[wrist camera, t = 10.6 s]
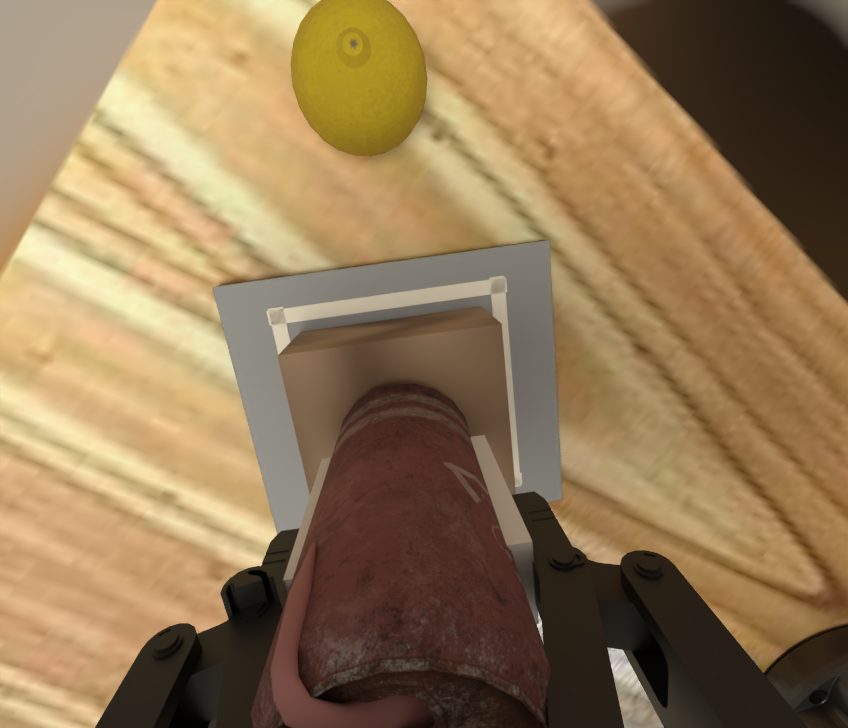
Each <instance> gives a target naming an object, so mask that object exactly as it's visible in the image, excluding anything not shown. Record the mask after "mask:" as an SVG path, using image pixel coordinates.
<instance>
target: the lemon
mask: <svg viewBox="0 0 848 728" xmlns="http://www.w3.org/2000/svg"><path fill="white" fill-rule="evenodd" d="M291 72H292V82H293V89H294V92H295V95H296V98H297V101H298V104H299V107H300V109H301V111H302V113H303V114H304V116H305V118H306V119H307V121H308V123H309V124H310V126H311V127H312V128H313V129H314V130H315V131H316V132H317V133H318V135H319V136H320V137H321V138H322V139H323V140H324V141H326V142H327V143H329V144H330V145H332V146H333V147H335V148H337V149H338V150H340V151H343V152H346V153H350V154H353V155H362V156H372V155H376V154H381V153H385V152H387V151H388V150H390V149H392V148H394V147H396V146H398V145H399V144H400V143H401V142H402V141H403V140H404V139H405V138H406V137H407V136H408V135H409V134H410V133H411V131H412V130H413V128H414V127H415V125H416V123H417V122H418V120H419V118H420V115H421V112H422V109H423V106H424V103H425V99H426V88H427V73H426V65H425V58H424V54H423V52H422V49H421V46H420V43H419V41H418V38H417V35H416V34H415V32H414V30H413V29H412V27H411V26H410V24H409V23H408V21H407V20H406V18H405V17H404V15H403V14H402V13H400V12H399V11H398V10H397V9H396V8H395V7H394V6H393V5H392V4H391V3H390V2H388V1H387V0H321V1H320V2H318V3H317V4H316V5H314V6H313V7H312V8H311V9H310V10H309V12H308V13H307V15H306V16H305V17H304V19H303V20H302V21H301V23H300V26H299V29H298V31H297V34H296V36H295V39H294V42H293V50H292V57H291Z"/></svg>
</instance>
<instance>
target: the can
mask: <svg viewBox="0 0 848 728" xmlns="http://www.w3.org/2000/svg"><path fill="white" fill-rule="evenodd" d="M470 437H472V436H471V433H470V430H469V427H468V424H467V421H466V418H465V416H464V415H463V413H462V412H461V411H460V409H459V408H458V407H457V406H456V404H455V403H454V402H453V401H452V400H451V399H449V398H448V397H446V396H445V395H443V394H442V393H440V392H439V391H437V390H436V389H433V388H429V387H426V386H422V385H419V384H416V383H406V384H391V385H388V386H385V387H382V388H379V389H376V390H373V391H371V392H370V393H368V394H367V395H366V396H364V397H363V398H362V399H360V400H359V401H357V402H356V403H355V404H354V406H353V407H352V408H351V410H350V411H349V413H348V414H347V415H346V417H345V418H344V420H343V423H342V426H341V429H340V432H339V435H338V438H337V442H336V445H335V448H334V451H333V454H332V457H331V460H330V464H329V467H328V470H327V473H326V476H325V479H324V482H323V485H322V489H321V492H320V495H319V498H318V501H317V504H316V507H315V510H314V514H313V517H312V520H311V523H310V526H309V529H308V532H307V536H306V539H305V542H304V545H303V548H302V551H301V554H300V557H299V561H298V564H297V567H296V570H295V573H294V576H293V579H292V582H291V586H290V589H289V592H288V595H287V598H286V601H285V604H284V608H283V611H282V614H281V617H280V620H279V623H278V626H277V629H276V633H275V636H274V639H273V642H272V645H271V648H270V651H269V654H268V658H267V661H266V664H265V667H264V670H263V673H262V676H261V680H260V683H259V686H258V689H257V693H256V696H255V700H254V703H253V707H252V710H251V714H250V715H251V719H252V724H253V728H549V718H548V703H547V686H548V682H549V678H550V674H551V668H550V665H549V662H548V659H547V656H546V653H545V650H544V645H543V642H542V639H541V637H540V634H539V631H538V628H537V625H536V622H535V619H534V616H533V613H532V610H531V607H530V605H529V602H528V599H527V596H526V593H525V590H524V587H523V584H522V581H521V578H520V575H519V572H518V570H517V567H516V564H515V561H514V558H513V555H512V552H511V550H510V549H509V548H508V547H507V545H506V542H505V539H504V536H503V533H502V530H501V527H500V524H499V522H498V519H497V516H496V513H495V510H494V507H493V504H492V501H491V498H490V495H489V492H488V489H487V486H486V483H485V480H484V477H483V474H482V471H481V468H480V465H479V462H478V459H477V456H476V453H475V450H474V447H473V444H472V441H471V438H470Z"/></svg>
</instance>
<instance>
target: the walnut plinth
mask: <svg viewBox="0 0 848 728" xmlns="http://www.w3.org/2000/svg"><path fill="white" fill-rule="evenodd" d="M278 361H279V365H280V369H281V374H282V378H283V382H284V387H285V391H286V395H287V399H288V404H289V408H290V412H291V417H292V421H293V425H294V429H295V434H296V438H297V442H298V447H299V451H300V455H301V460H302V464H303V468H304V472H305V477H306V481H307V485H308V490H309V494H310V495H311V491H312V488H313V485H314V482H315V479H316V476H317V473H318V470H319V467H320V463H321V460H322V459H325V458H331V457H332V454H333V451H334V448H335V445H336V442H337V438H338V435H339V432H340V429H341V426H342V423H343V420H344V418H345V417H346V415H347V414H348V413H349V411H350V410H351V408H352V407H353V406H354V404H355V403H356V402H357V401H359V400H360V399H362V398H363V397H364V396H366V395H367V394H368V393H370V392H371V391H373V390H376V389H379V388H382V387H385V386H388V385H391V384H406V383H416V384H419V385H422V386H426V387H429V388H433V389H436V390H437V391H439V392H440V393H442V394H443V395H445V396H446V397H448V398H449V399H451V400H452V401H453V402H454V403H455V404H456V406H457V407H458V408H459V409H460V411H461V412H462V413H463V415H464V416H465V418H466V421H467V424H468V427H469V430H470V433H471V436H472V437H473V436H479V435H485V437H486V440H487V442H488V444H489V446H490V448H491V451H492V453H493V455H494V457H495V460H496V462H497V464H498V466H499V468H500V471H501V473H502V475H503V477H504V480H505V482H506V484H507V486H508V488H509V491H510V493H511V495H513V494H516V488H515V476H514V464H513V452H512V441H511V429H510V417H509V405H508V393H507V381H506V369H505V357H504V346H503V334H502V324H501V323H500V322H499V321H498V320H497V319H495V318H494V317H493V316H492V315H491V314H489V313H488V312H487V311H486V310H485V309H483V308H482V307H474V308H467V309H460V310H452V311H445V312H438V313H431V314H424V315H417V316H410V317H403V318H396V319H389V320H382V321H375V322H368V323H361V324H354V325H347V326H340V327H333V328H326V329H319V330H312V331H305V332H300V333H299V334H298V335H297V336H296V337H295V338H294V339H293V340H292V341H291V342H290V343H289V344H288V345H287V346H286V347H285V348H284V349H283V350H282V351H281V353H280V354H279V355H278Z"/></svg>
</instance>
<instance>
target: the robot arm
mask: <svg viewBox="0 0 848 728" xmlns="http://www.w3.org/2000/svg"><path fill="white" fill-rule="evenodd" d="M470 438H471V441H472V444H473V447H474V450H475V453H476V456H477V459H478V462H479V465H480V468H481V471H482V474H483V477H484V480H485V483H486V486H487V489H488V492H489V495H490V498H491V501H492V504H493V507H494V510H495V513H496V516H497V519H498V522H499V524H500V527H501V530H502V533H503V536H504V539H505V542H506V545H507V547H508V548H509V549H510V550H511V552H512V555H513V558H514V561H515V564H516V567H517V570H518V572H519V575H520V578H521V581H522V584H523V587H524V590H525V593H526V596H527V599H528V602H529V605H530V607H531V610H532V613H533V616H534V619H535V622H536V624H539V623H538V612H539V615H540V617H541V620H542V628H543V643H544V650H545V653H546V656H547V659H548V662H549V665H550V668H551V674H550V678H549V682H548V686H547V703H548V718H549V728H624V724H623V720H622V715H621V710H620V705H619V701H618V696H617V691H616V687H615V682H614V677H613V673H612V668H611V663H610V659H609V654H608V649H607V647H609V648H616V649H623V650H624V653H625V654H626V656H627V658H628V660H629V662H630V664H631V666H632V668H633V670H634V671H635V673H636V675H637V677H638V679H639V681H640V683H641V685H642V686H643V688H644V690H645V692H646V694H647V696H648V698H649V700H650V701H651V703H652V705H653V707H654V709H655V711H656V713H657V715H658V717H659V718H660V720H661V722H662V724H663V726H664V728H848V627H845V628H841V629H837V630H834V631H830V632H828V633H825V634H822V635H820V636H818V637H815V638H813V639H811V640H809V641H807V642H806V643H804V644H802V645H800V646H799V647H797V648H796V649H794V650H793V651H791V652H790V653H789V654H787V655H786V656H785V657H784V658H782V659H781V660H780V661H779V662H778V663H777V664H776V665H775V666H774V667H773V668H772V669H771V670H770V671H769V672H768V673H767V675H766V676H765V675H764V673H763V672H762V671H761V670H760V669H759V667H758V666H757V665H756V664H755V662H754V661H753V660H752V659H751V658H750V656H749V655H748V654H747V653H746V652H745V650H744V649H743V648H742V647H741V645H740V644H739V643H738V642H737V641H736V639H735V638H734V637H733V636H732V635H731V633H730V632H729V631H728V630H727V628H726V627H725V626H724V625H723V624H722V622H721V621H720V620H719V619H718V617H717V616H716V615H715V614H714V613H713V611H712V610H711V609H710V608H709V607H708V605H707V604H706V603H705V602H704V600H703V599H702V598H701V597H700V596H699V594H698V593H697V592H696V591H695V590H694V588H693V587H692V586H691V585H690V583H689V582H688V581H687V580H686V579H685V577H684V576H683V575H682V574H681V573H680V571H679V570H678V569H677V568H676V566H675V565H674V564H673V563H672V562H671V561H669V560H668V559H667V558H666V557H664V556H662V555H660V554H657V553H654V552H650V551H633V552H630V553H627V554H626V555H625V556H624V557H623V558H622V560H621V564H620V565H614V564H603V563H597V562H594V561H591V560H588V559H587V557H586V555H585V554H584V553H582V552H581V551H580V550H579V549H577V548H574V547H572V545H571V543H570V542H569V540H568V538H567V536H566V535H565V533H564V531H563V529H562V528H561V526H560V524H559V522H558V521H557V519H556V518H555V515H554V514H553V512H552V511H551V508H550V507H549V505H548V503H547V501H546V500H545V498H543V497H542V496H540V495H539V494H537V493H536V492H535V491H533V492H526V493H520V494H513V495H511V493H510V491H509V488H508V486H507V484H506V482H505V480H504V477H503V475H502V473H501V471H500V468H499V466H498V464H497V462H496V460H495V457H494V455H493V453H492V451H491V448H490V446H489V444H488V442H487V440H486V437H485V435H479V436H473V437H470ZM330 460H331V458H325V459H322V460H321V463H320V467H319V470H318V473H317V476H316V479H315V482H314V485H313V488H312V491H311V495H310V498H309V501H308V504H307V507H306V510H305V513H304V516H303V519H302V522H301V526H300V528H298V529H291V530H285V531H280V533H279V534H278V535H277V536H276V537H275V538H274V539H273V540H272V541H271V542H270V545H269V547H268V550H267V552H266V556H265V557H264V560H263V562H262V565H261V567H260V566H257V567H251V568H248V569H245V570H243V571H241V572H238V573H237V574H236V575H234V576H233V577H231V578H230V579H229V580H228V581H227V582H226V584H225V585H224V586H223V588H222V591H221V596H222V599H223V603H224V606H225V609H226V612H227V615H228V618H229V619H228V620H227V621H226V622H224V623H222V624H220V625H218V626H216V627H213V628H211V629H208V630H206V631H203V632H201V633H198V634H197V633H196V630H195V627H194V626H192V625H190V624H188V623H185V624H176V625H173V626H170V627H168V628H166V629H164V630H162V631H160V632H159V633H157V634H156V635H155V636H154V637H152V638H151V639H150V640H149V641H148V642H147V643H146V644H145V646H144V647H143V648H142V649H141V651H140V653H139V654H138V656H137V658H136V659H135V661H134V663H133V664H132V666H131V668H130V669H129V671H128V673H127V675H126V676H125V678H124V680H123V681H122V683H121V685H120V686H119V688H118V690H117V691H116V693H115V695H114V696H113V698H112V700H111V702H110V703H109V705H108V707H107V708H106V710H105V712H104V713H103V715H102V717H101V718H100V720H99V722H98V723H97V725H96V727H95V728H253V724H252V719H251V715H250V714H251V710H252V707H253V703H254V700H255V696H256V693H257V689H258V686H259V683H260V680H261V676H262V673H263V670H264V667H265V664H266V661H267V658H268V654H269V651H270V648H271V645H272V642H273V639H274V636H275V633H276V629H277V626H278V623H279V620H280V617H281V614H282V611H283V608H284V604H285V601H286V598H287V595H288V592H289V589H290V586H291V582H292V579H293V576H294V573H295V570H296V567H297V564H298V561H299V557H300V554H301V551H302V548H303V545H304V542H305V539H306V536H307V532H308V529H309V526H310V523H311V520H312V517H313V514H314V510H315V507H316V504H317V501H318V498H319V495H320V492H321V489H322V485H323V482H324V479H325V476H326V473H327V470H328V467H329V464H330Z"/></svg>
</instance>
